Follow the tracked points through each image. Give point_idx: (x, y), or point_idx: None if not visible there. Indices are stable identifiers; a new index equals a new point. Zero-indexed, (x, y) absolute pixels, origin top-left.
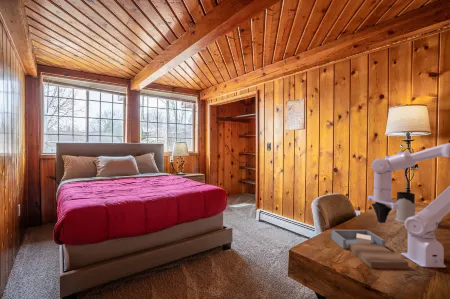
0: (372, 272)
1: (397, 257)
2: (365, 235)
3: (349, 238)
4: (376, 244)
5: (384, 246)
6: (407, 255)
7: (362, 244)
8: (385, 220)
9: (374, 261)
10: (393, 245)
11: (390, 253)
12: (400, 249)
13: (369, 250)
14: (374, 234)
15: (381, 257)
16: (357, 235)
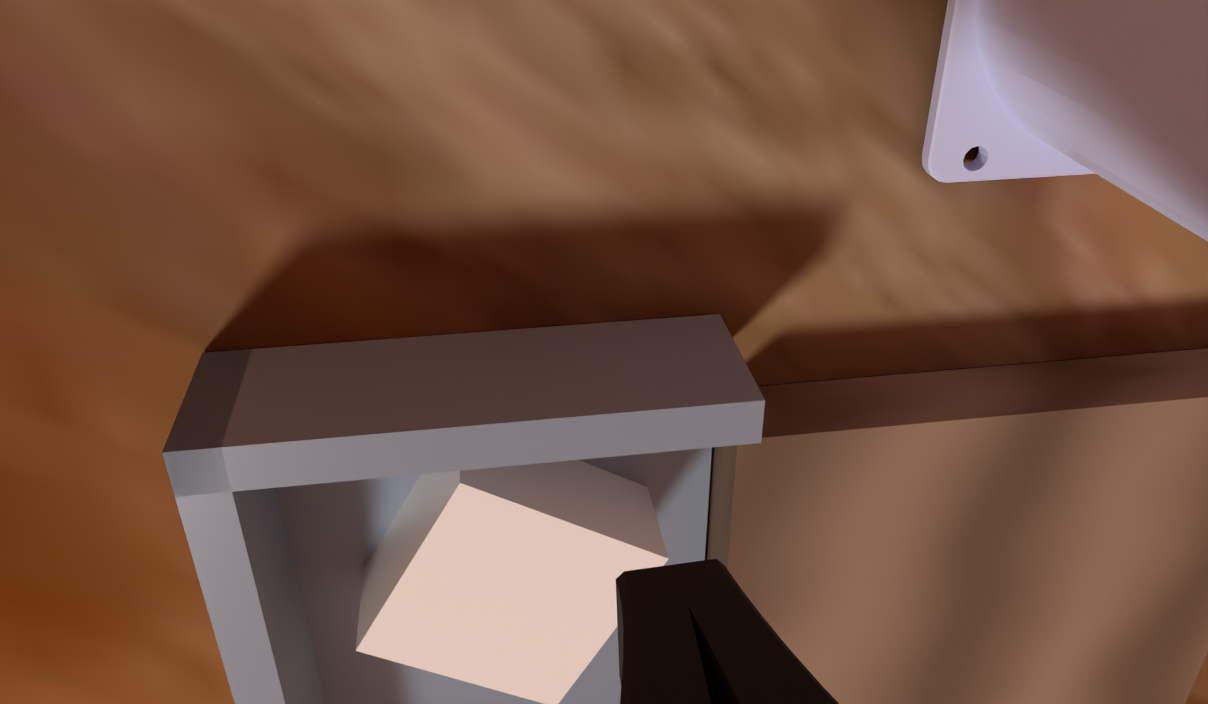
0: (1198, 691)
1: (1186, 439)
2: (450, 559)
3: (349, 653)
4: (753, 493)
5: (733, 344)
6: (1038, 141)
7: None
8: (749, 612)
9: (1178, 701)
10: (543, 42)
11: (1063, 458)
12: (732, 30)
13: (933, 653)
14: (454, 437)
15: (1125, 606)
16: (469, 671)
